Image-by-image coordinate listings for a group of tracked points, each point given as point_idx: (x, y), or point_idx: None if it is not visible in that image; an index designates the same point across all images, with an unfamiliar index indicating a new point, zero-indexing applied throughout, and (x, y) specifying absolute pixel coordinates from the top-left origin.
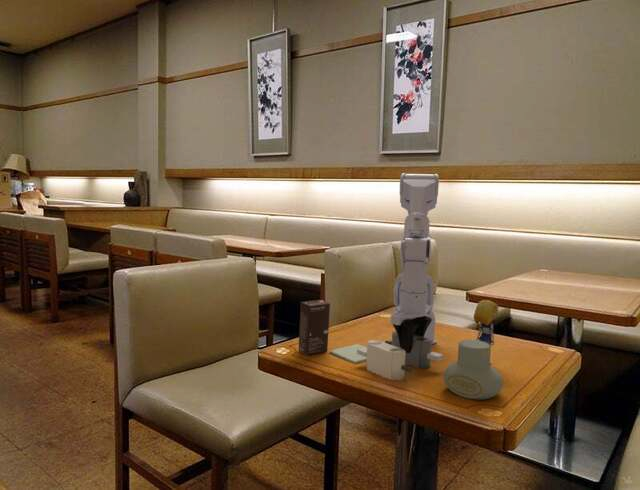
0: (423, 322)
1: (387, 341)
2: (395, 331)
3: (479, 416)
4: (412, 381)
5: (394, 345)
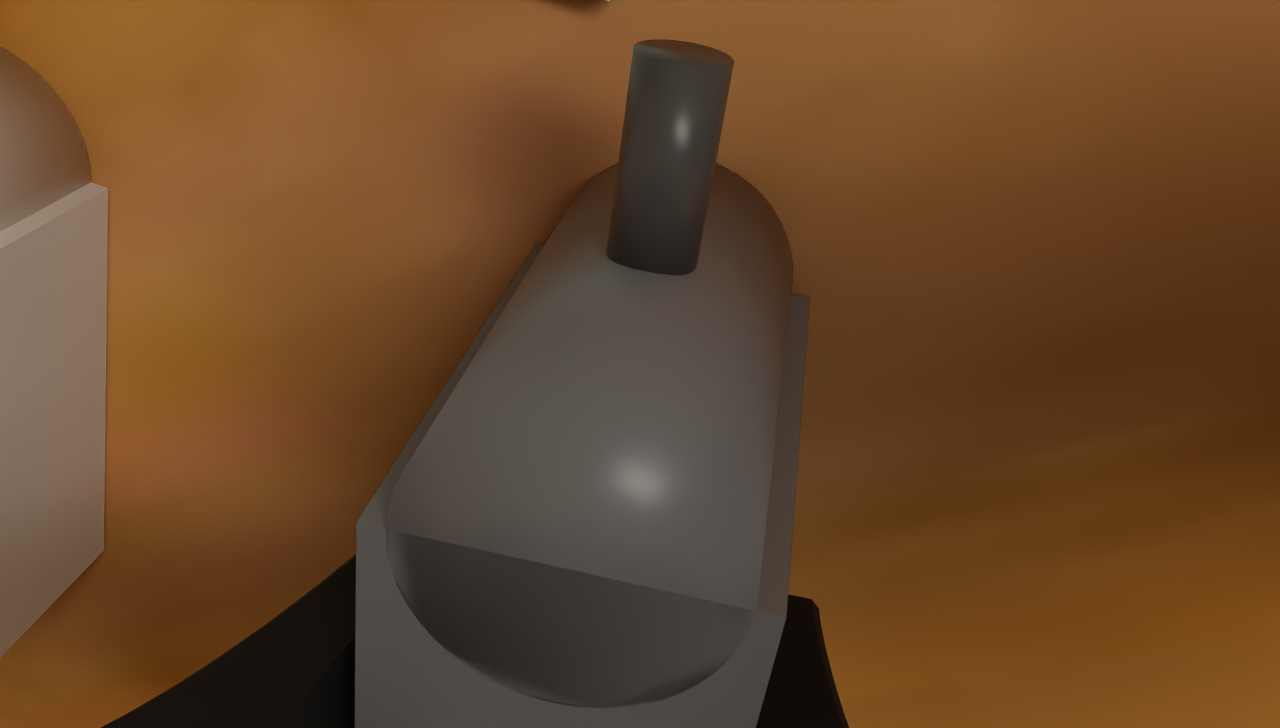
0: None
1: (646, 119)
2: (661, 444)
3: None
4: (102, 659)
5: (451, 386)
